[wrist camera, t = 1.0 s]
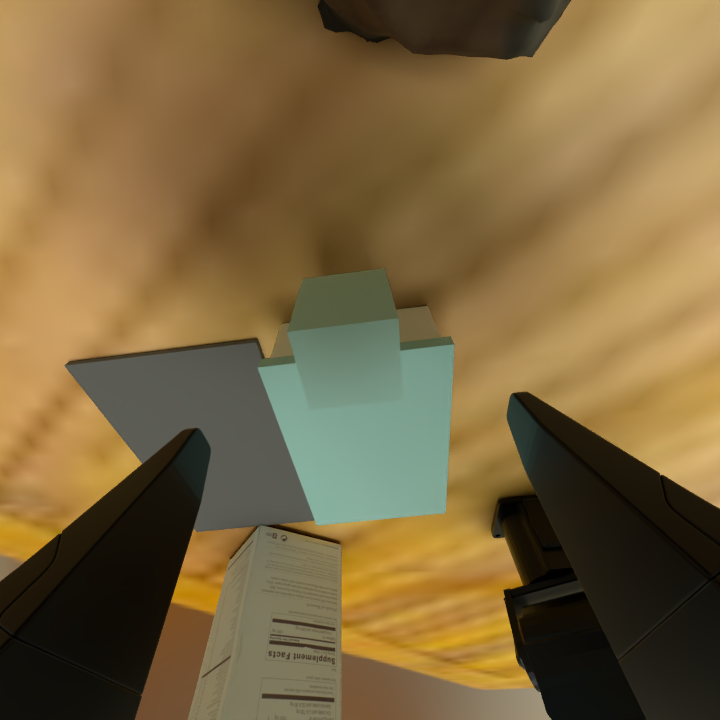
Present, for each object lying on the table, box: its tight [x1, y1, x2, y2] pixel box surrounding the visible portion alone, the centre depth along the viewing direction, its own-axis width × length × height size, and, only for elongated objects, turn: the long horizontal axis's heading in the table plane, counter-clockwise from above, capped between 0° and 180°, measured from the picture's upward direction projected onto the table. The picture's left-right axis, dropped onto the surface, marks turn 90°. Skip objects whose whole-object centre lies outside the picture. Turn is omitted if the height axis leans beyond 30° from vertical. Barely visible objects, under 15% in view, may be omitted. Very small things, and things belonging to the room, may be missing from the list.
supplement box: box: [188, 525, 342, 720], centre depth 28 cm, size 10×9×17 cm
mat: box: [65, 339, 315, 532], centre depth 26 cm, size 20×12×1 cm, turn 7°
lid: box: [257, 268, 454, 525], centre depth 17 cm, size 18×9×5 cm, turn 7°
